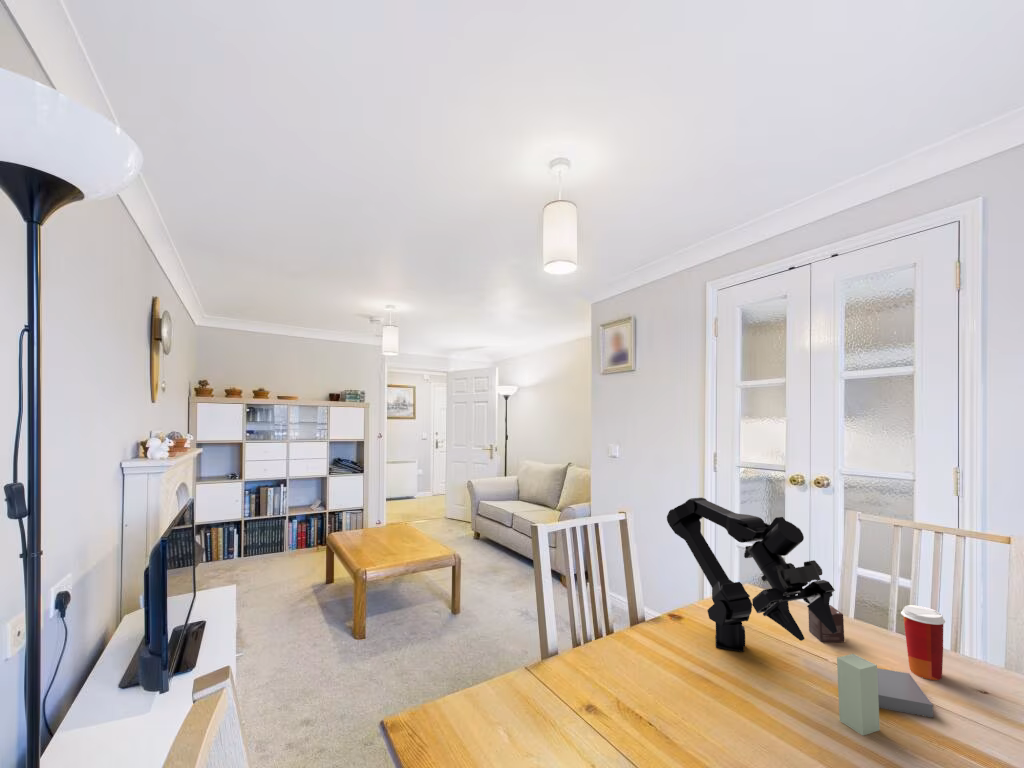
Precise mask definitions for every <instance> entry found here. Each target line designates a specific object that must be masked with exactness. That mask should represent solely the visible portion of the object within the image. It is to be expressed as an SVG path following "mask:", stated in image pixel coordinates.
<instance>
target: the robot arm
mask: <svg viewBox="0 0 1024 768" xmlns="http://www.w3.org/2000/svg"><path fill="white" fill-rule="evenodd" d="M703 518H704V519H706V520H708V521H710V522H712V523H714V524H715V525H718V526H720V527H722V528H724V529H725V530H726V531H727V535H729V537H731V538H733V539H734V540H736V541H737V542H739V543H742V544H743V543H751V542H753V544H752V545H746V546H745V547H744V549H745V550H744V554H743V557H744V558H745V559H751V558H752V559H753V560H754V562H755V564H756V565H757V567H758V568H759V570H760V571H761V573H762V576H761V577H760V578H761V580H762V582H767V583H768V584H769V585H770V587H771V588H767V589H766V588H765V589H763V590H762V591H760V592H759V593H758V594H756V596H754V597H753V598H752V600H751V599H750V597H751V596H750V594H749V593H748V591H746V589H745V587H744V585H743V584H742V583H741V582H740V581H737V582H736V581H735V582H734V581H732V580H731V579H730V577H728V575H727V573H726V572H725V570H724V568H723V567H722V565H721V564H720V561H719V560H718V558H717V557H716V555H715V554H714V553H715V552H713V550H712V549H711V547H710V545H709V544H708V542H707V541H706V539H705V537H704V535H703V533H702V528H701V527H702V522H701V521H700V520H702V519H703ZM666 521H667V524H668V525H669V527H670V529H671V530H672V531H673V533H674V534H675V535H677V536H678V537H679V538H682V539H683V540H684V541H685V543H686V544H687V546H688V548H689V549H690V551H691V553H692V555H693V556H694V559H695V560H696V562H697V564H698V566H699V567H700V569H701V571H702V572H703V574H704V576H705V578H706V579H707V581H708V583H709V585H710V587H711V599H712V603H713V604H712V605H711V606H710V607H709V608H708V609H707V614H708V619H709V620H711V621H713V622H715V635H714V636H715V639H714V640H715V648H717V649H718V648H719V649H724V650H730V651H734V652H740V653H741V652H743V653H744V652H745V649H744V648H745V647H746V628H745V626H744V625H743V622H749V619H750V615H751V613H752V610H753V609H754V610H755V613H756V614H761V613H762V616H763V617H768V619H770V620H772V621H773V622H775V623H776V624H778V625H779V626H781V627H782V628H783V629H785V630H786V631H787V632H789V633H790V634H791V635H792V636H793V637H794V638H796V639H797V640H798V641H804V640H805V636H804V634H803V631H802V630H801V629H800V627H799V625H798V624H797V622H796V620H795V618H794V617H793V615H792V613H791V611H790V607H789V605H790V604H789V602H792V601H798V600H803V601H804V602H805V603H806V604H808V605H806V607H807V609H808V608H809V609H810V610H811V611H812V612H813V613H814V614H815V616H816V617H817V618H818V619H819V620H820V621H821V622H822V623H823V624H824V625H825V626H826V627H827V628H828V629H829V630H830V631H831V632H832V633H833V634H835V633H836V632H837V629H836V626H835V622H834V619H833V616H832V613H831V610H830V605H831V604H830V601H831V598H832V597H833V593H834V591H836V590H835V588H834V587H833V586H832V584H831V583H830V581H827V580H825V579H821V576H822V575H823V568H822V567H821V566H820V565H819V564H818V562H817V561H816V560H807V561H804V562H803V566H798V567H796V566H795V565H794V564H793V563H791V562H788V563H787V562H786V560H785V559H784V556H785V557H786V556H788V555H789V554H790V553H791V552H792V551H793V550H794V549H795V548H797V547H798V546H799V545H800V544H801V543H802V542H803V541H804V538H805V537H804V533H803V532H802V530H801V529H800V528H799V527H798V526H796V525H795V524H793V523H792V522H791V521H788V520H786V519H785V518H784V516H779V517H775V518H774V519H773V520H772V522H771V523H770V524H769V523H766V522H765V521H764V519H763V518H761V517H760V516H756V515H752V514H747V513H746V514H743V513H736V512H734V511H731V510H729V509H728V508H725V507H722V506H720V505H718V504H715V503H713V502H712V501H709V500H707V499H706V498H704V497H693V498H689V499H687V500H686V501H685V502H684V503H682V504H679V505H678V506H676V507H674V508H672V509H670V510H669V511H668V513H667V515H666Z"/></svg>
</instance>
